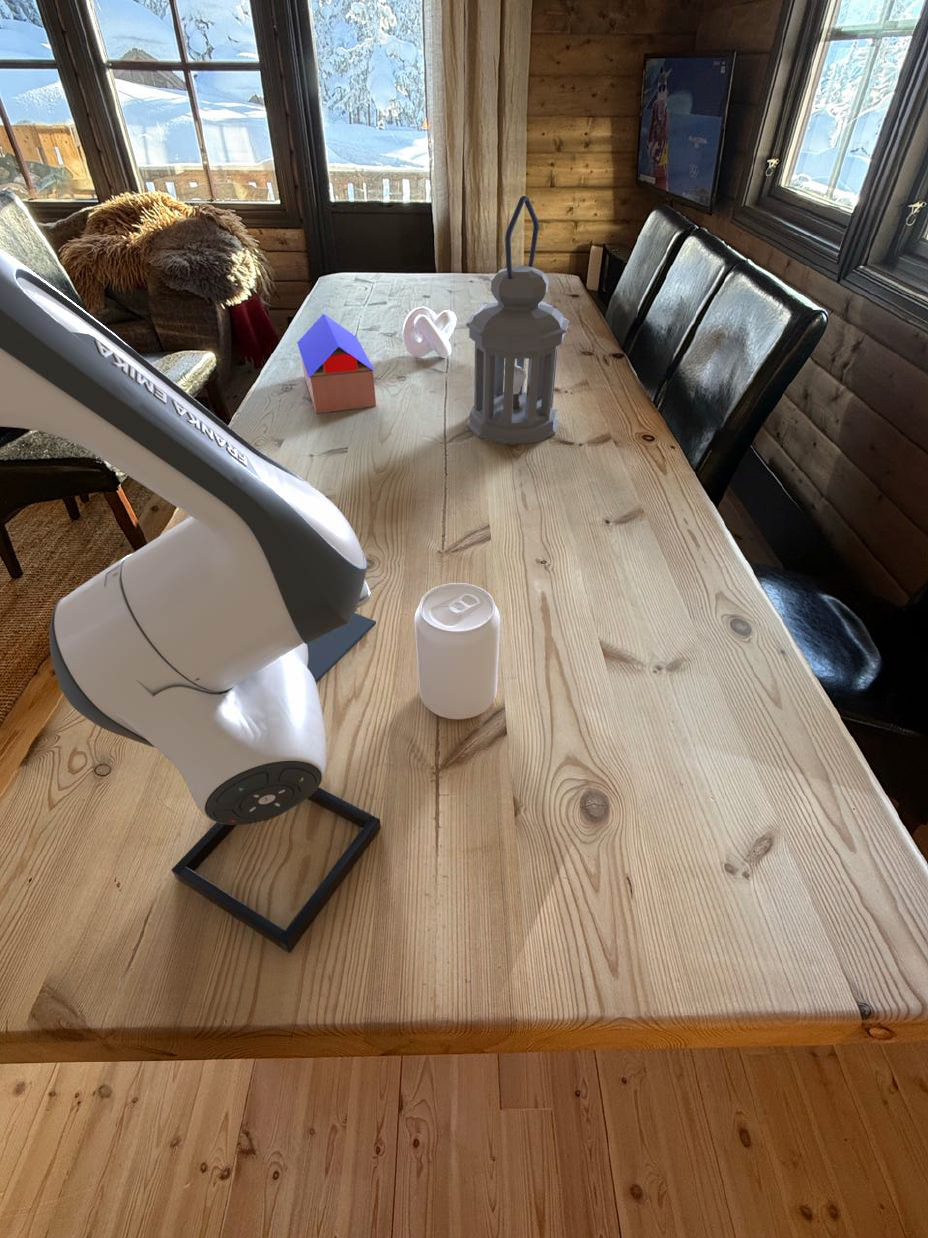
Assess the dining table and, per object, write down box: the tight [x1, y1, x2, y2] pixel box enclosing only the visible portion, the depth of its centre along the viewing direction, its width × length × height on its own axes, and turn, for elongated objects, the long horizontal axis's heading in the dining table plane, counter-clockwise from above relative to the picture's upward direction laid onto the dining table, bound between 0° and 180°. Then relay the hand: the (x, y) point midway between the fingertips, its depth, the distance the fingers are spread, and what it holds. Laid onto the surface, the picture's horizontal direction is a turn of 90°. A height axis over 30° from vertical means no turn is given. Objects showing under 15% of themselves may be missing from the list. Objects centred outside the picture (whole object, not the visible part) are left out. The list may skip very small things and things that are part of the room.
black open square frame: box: [171, 786, 382, 954], centre depth 55 cm, size 12×12×2 cm
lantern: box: [465, 195, 570, 446], centre depth 107 cm, size 17×17×35 cm
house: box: [296, 313, 377, 414], centre depth 127 cm, size 12×20×12 cm, turn 17°
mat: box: [307, 612, 377, 684], centre depth 75 cm, size 18×18×1 cm
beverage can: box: [414, 582, 501, 720], centre depth 65 cm, size 8×8×12 cm
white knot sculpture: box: [402, 306, 457, 359], centre depth 142 cm, size 11×12×9 cm
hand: (231, 539), depth 61 cm, fingers closed on vase, 6 cm apart
